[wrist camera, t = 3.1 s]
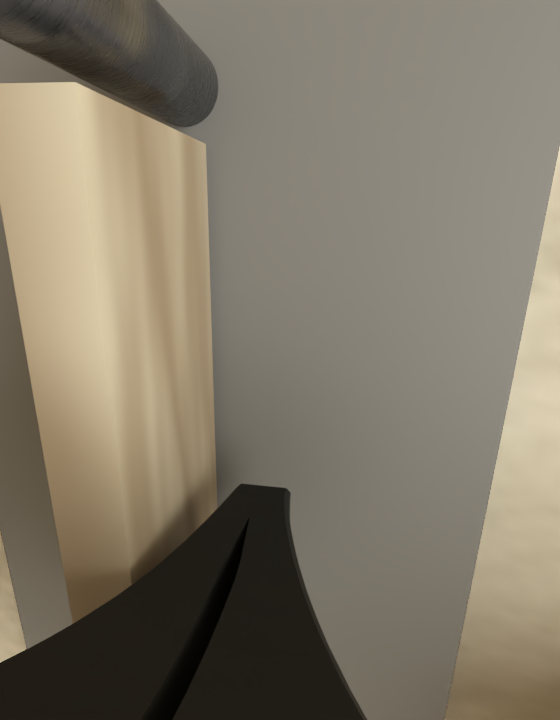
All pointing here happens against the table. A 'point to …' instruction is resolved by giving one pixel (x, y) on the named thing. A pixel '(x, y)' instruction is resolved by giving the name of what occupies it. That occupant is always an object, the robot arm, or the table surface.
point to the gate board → (347, 305)
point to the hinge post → (118, 52)
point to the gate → (112, 325)
